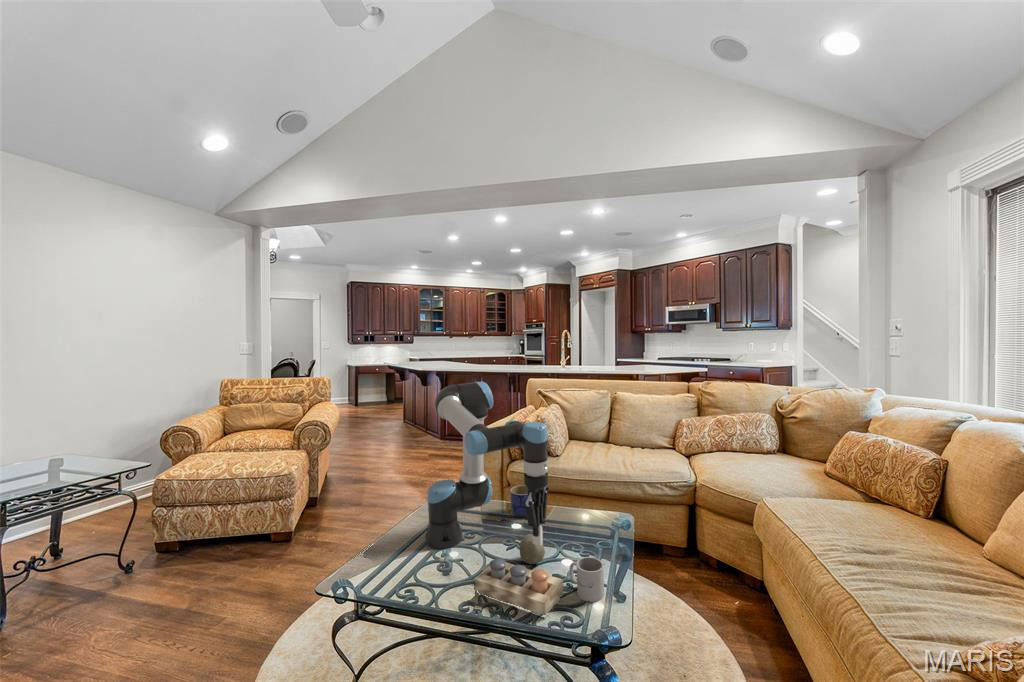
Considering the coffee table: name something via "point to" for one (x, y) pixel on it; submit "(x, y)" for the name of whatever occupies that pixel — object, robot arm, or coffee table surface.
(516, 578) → the slate plug
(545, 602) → the block
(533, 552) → the decorative stone
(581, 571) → the mug
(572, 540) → the coffee table surface
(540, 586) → the terracotta plug
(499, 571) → the slate plug
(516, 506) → the planter
